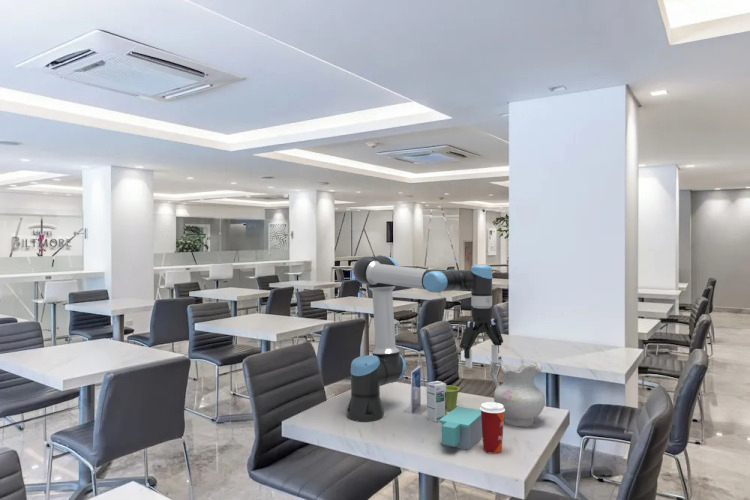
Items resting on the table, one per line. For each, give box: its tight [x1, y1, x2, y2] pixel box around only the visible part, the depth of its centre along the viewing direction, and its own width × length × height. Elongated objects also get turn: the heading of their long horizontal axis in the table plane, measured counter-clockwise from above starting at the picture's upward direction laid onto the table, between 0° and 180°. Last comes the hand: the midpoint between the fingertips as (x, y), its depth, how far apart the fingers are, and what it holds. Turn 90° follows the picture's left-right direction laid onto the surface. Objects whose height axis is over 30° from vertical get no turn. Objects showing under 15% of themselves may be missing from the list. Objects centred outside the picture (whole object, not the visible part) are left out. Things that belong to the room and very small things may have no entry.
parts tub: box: [441, 417, 483, 451], centre depth 179 cm, size 14×10×8 cm
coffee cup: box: [479, 401, 505, 454], centre depth 171 cm, size 8×8×15 cm
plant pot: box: [446, 384, 460, 412], centre depth 216 cm, size 9×9×9 cm
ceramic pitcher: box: [489, 355, 546, 428], centre depth 199 cm, size 22×20×25 cm
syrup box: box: [426, 380, 448, 423], centre depth 202 cm, size 6×6×14 cm
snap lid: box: [438, 405, 481, 446], centre depth 177 cm, size 23×11×6 cm, turn 150°
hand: (482, 365), depth 187 cm, fingers open, 13 cm apart
